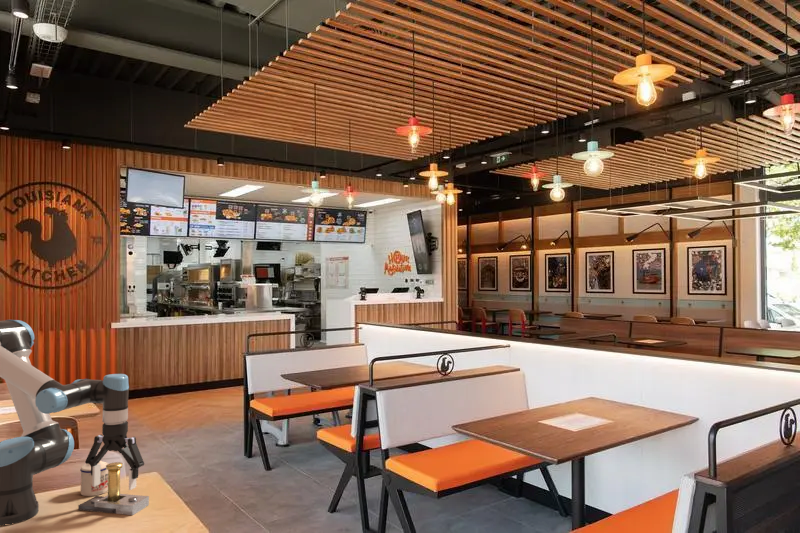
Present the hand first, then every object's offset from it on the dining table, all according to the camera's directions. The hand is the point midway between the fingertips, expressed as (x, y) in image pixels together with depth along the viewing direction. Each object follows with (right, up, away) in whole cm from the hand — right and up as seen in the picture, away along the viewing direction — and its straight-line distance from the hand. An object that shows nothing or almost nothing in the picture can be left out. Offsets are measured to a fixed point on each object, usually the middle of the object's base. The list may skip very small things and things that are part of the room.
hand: (114, 487), depth 184 cm
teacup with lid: (-13, -7, +15) cm, 21 cm away
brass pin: (0, -7, 0) cm, 7 cm away
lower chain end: (-3, -7, 0) cm, 7 cm away
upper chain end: (+3, -7, -1) cm, 7 cm away
